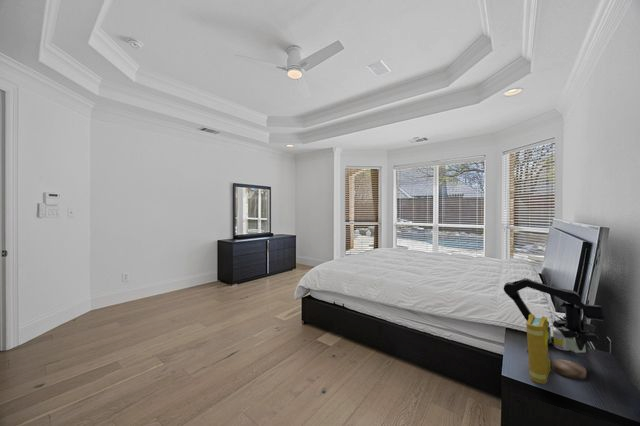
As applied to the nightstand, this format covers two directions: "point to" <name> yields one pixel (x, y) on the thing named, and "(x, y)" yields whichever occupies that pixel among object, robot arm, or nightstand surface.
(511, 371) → the nightstand surface
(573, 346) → the sage block
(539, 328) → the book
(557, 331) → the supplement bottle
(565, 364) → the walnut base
